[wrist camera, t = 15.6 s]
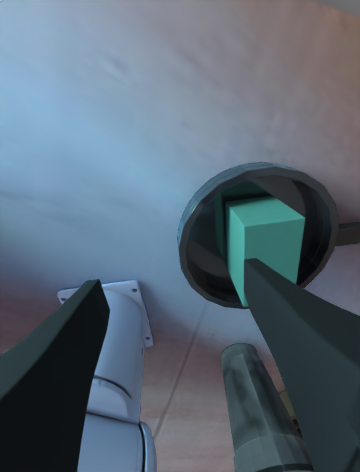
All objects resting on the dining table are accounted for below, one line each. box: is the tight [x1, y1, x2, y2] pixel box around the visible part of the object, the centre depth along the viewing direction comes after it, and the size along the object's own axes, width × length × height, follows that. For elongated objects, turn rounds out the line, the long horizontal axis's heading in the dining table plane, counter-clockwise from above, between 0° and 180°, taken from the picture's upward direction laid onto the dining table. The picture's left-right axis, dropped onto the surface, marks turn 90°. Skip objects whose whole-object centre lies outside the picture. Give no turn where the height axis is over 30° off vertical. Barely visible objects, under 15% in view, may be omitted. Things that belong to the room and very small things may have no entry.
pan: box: [177, 162, 339, 309], centre depth 20 cm, size 13×13×2 cm
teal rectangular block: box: [226, 196, 305, 307], centre depth 18 cm, size 7×4×5 cm, turn 7°
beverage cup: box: [221, 343, 314, 472], centre depth 20 cm, size 7×7×20 cm
